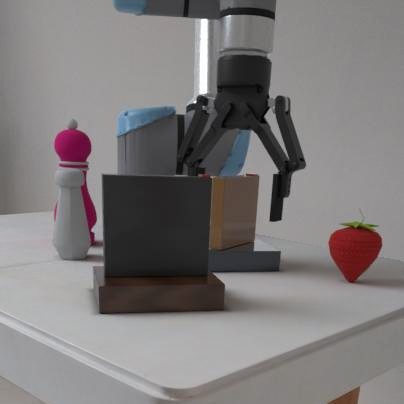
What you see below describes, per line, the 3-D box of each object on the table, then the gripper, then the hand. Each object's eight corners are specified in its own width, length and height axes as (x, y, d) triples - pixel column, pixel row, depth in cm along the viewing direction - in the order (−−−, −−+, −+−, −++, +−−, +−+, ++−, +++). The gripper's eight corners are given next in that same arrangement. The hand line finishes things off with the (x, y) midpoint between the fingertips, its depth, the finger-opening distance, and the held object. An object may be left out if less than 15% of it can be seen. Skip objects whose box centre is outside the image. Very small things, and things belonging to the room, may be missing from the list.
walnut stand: (99, 313, 61) (98, 286, 60) (93, 289, 70) (92, 265, 69) (223, 310, 64) (225, 284, 63) (203, 287, 73) (204, 264, 72)
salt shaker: (56, 261, 84) (52, 169, 79) (50, 254, 89) (45, 167, 84) (95, 260, 86) (93, 170, 81) (87, 252, 91) (84, 167, 86)
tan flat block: (220, 250, 82) (225, 176, 78) (209, 248, 83) (212, 175, 79) (254, 240, 90) (259, 173, 87) (243, 239, 91) (248, 173, 88)
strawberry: (317, 276, 82) (325, 206, 79) (366, 276, 83) (376, 207, 80) (332, 286, 77) (341, 211, 73) (383, 286, 78) (396, 212, 74)
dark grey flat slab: (105, 276, 64) (102, 172, 59) (103, 272, 65) (101, 171, 61) (208, 275, 66) (212, 175, 62) (203, 271, 68) (208, 174, 64)
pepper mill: (88, 248, 94) (84, 118, 87) (48, 244, 96) (40, 116, 88) (103, 241, 101) (101, 120, 94) (65, 238, 102) (60, 118, 95)
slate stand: (201, 271, 82) (202, 251, 81) (187, 257, 91) (187, 239, 90) (279, 271, 84) (281, 251, 83) (257, 257, 93) (259, 239, 92)
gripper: (341, 58, 74) (322, 222, 82) (183, 62, 86) (179, 206, 94) (321, 49, 68) (302, 228, 76) (154, 55, 80) (153, 209, 88)
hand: (234, 216), depth 85 cm, fingers open, 13 cm apart
